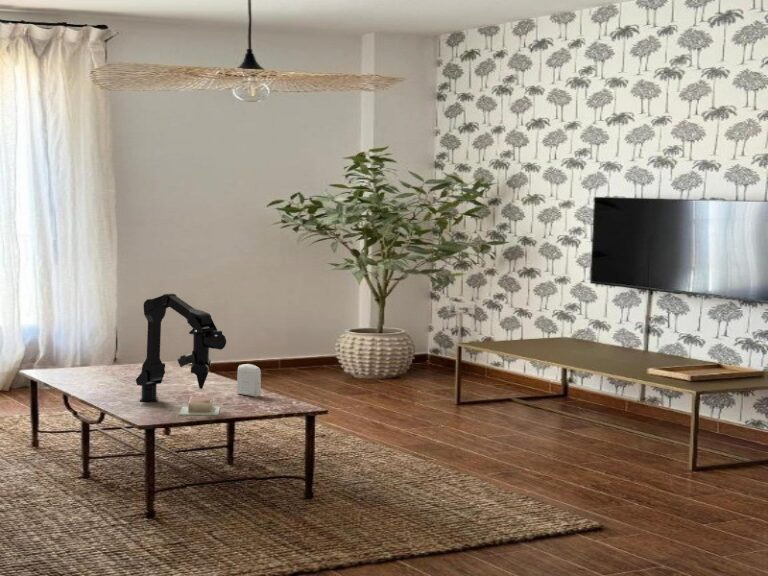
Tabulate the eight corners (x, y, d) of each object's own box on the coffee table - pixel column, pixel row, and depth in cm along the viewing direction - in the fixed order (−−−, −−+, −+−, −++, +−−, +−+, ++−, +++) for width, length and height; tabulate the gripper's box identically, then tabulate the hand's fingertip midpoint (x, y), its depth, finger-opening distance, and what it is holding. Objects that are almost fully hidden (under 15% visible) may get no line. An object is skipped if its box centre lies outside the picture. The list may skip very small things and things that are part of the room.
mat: (182, 407, 432) (182, 406, 432) (220, 407, 433) (220, 406, 433) (179, 415, 418) (179, 414, 418) (218, 415, 419) (218, 414, 419)
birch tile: (190, 396, 433) (188, 402, 421) (212, 396, 433) (210, 402, 421) (190, 406, 433) (188, 412, 421) (212, 406, 434) (210, 412, 422)
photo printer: (262, 395, 459) (262, 365, 458) (255, 397, 456) (255, 366, 455) (242, 392, 465) (242, 362, 464) (235, 394, 461) (235, 363, 460)
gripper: (181, 343, 434) (181, 384, 436) (176, 350, 416) (176, 393, 417) (210, 343, 436) (210, 384, 437) (207, 350, 417) (207, 393, 418)
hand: (200, 388), depth 427 cm, fingers closed
